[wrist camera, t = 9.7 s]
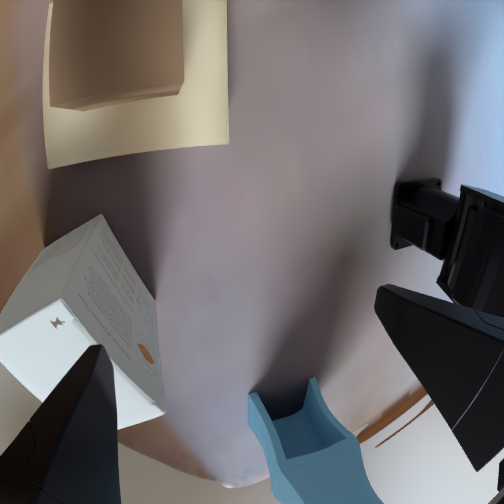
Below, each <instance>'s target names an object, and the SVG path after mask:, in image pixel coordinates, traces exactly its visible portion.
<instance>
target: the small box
mask: <svg viewBox="0 0 504 504" xmlns="http://www.w3.org/2000/svg"><path fill="white" fill-rule="evenodd" d="M96 344H102V345H103V346H104V347H105V349H106V351H107V353H108V356H109V358H110V360H111V362H112V365H113V368H114V381H115V393H116V404H117V430H118V429H121V428H125V427H128V426H131V425H134V424H138V423H141V422H144V421H147V420H150V419H153V418H156V417H158V416H161V415H164V414H165V413H166V404H165V396H164V388H163V380H162V372H161V362H160V352H159V341H158V329H157V314H156V301H155V300H154V298H153V297H152V295H151V294H150V293H149V291H148V289H147V288H146V286H145V285H144V283H143V282H142V280H141V279H140V277H139V276H138V274H137V272H136V271H135V269H134V268H133V266H132V264H131V263H130V261H129V259H128V258H127V256H126V255H125V253H124V251H123V249H122V248H121V246H120V244H119V243H118V241H117V239H116V238H115V236H114V234H113V233H112V231H111V229H110V227H109V225H108V224H107V222H106V220H105V218H104V216H103V215H102V214H100V215H98V216H96V217H95V218H93V219H91V220H89V221H88V222H86V223H84V224H83V225H81V226H79V227H78V228H76V229H74V230H73V231H71V232H69V233H68V234H66V235H64V236H63V237H61V238H60V239H58V240H56V241H55V242H53V243H52V244H50V245H49V246H47V247H46V248H44V249H43V250H42V251H41V253H40V254H39V255H38V257H37V258H36V259H35V261H34V262H33V264H32V265H31V266H30V268H29V269H28V271H27V272H26V274H25V275H24V277H23V278H22V280H21V281H20V283H19V284H18V286H17V287H16V289H15V290H14V292H13V294H12V295H11V297H10V298H9V300H8V302H7V303H6V305H5V307H4V308H3V310H2V311H1V313H0V362H1V363H2V364H3V365H4V366H5V367H6V368H7V369H8V370H9V371H10V372H11V373H12V374H13V375H14V376H15V377H16V378H17V379H18V380H19V381H20V382H21V383H22V384H23V385H24V386H25V387H26V388H27V389H28V390H30V392H31V393H33V394H34V395H35V396H36V397H37V398H38V399H39V400H41V401H42V402H43V401H44V400H45V399H46V398H47V396H48V395H49V394H50V393H51V391H52V390H53V389H54V388H55V386H56V385H57V384H58V383H59V382H60V380H61V379H62V378H63V377H64V375H65V374H66V373H67V372H68V371H69V369H70V368H71V367H72V366H73V365H74V363H75V362H76V361H77V360H78V359H79V357H80V356H81V355H82V354H83V353H84V352H85V350H86V349H87V348H88V347H89V346H90V345H96Z"/></svg>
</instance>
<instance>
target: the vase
mask: <svg viewBox="0 0 504 504" xmlns="http://www.w3.org/2000/svg"><path fill="white" fill-rule="evenodd" d="M248 424H249V427H250V428H251V430H252V431H253V433H254V434H255V436H256V438H257V439H258V441H259V443H260V445H261V447H262V449H263V451H264V453H265V457H266V460H267V464H268V468H269V473H270V480H271V488H272V491H273V494H274V496H275V497H276V498H277V499H278V500H279V501H280V502H281V503H282V504H384V503H383V502H382V501H381V500H380V499H379V498H378V496H377V495H376V493H375V492H374V490H373V489H372V487H371V485H370V482H369V480H368V478H367V476H366V472H365V468H364V465H363V460H362V455H361V449H360V444H359V442H358V440H357V439H356V437H355V436H354V435H353V434H352V433H351V432H349V431H348V430H347V429H346V428H345V427H344V426H343V425H342V424H341V423H340V422H339V421H338V420H337V419H336V418H335V417H334V416H333V414H332V413H331V412H330V410H329V409H328V407H327V405H326V404H325V402H324V399H323V397H322V395H321V392H320V389H319V386H318V382H317V379H316V377H313V378H310V379H309V384H308V388H307V393H306V397H305V402H304V406H303V408H302V409H301V410H300V411H298V412H297V413H296V414H294V415H291V416H288V417H285V418H281V419H277V420H274V421H271V419H270V417H269V415H268V413H267V411H266V409H265V407H264V405H263V403H262V401H261V400H260V398H259V396H258V394H257V392H254V393H249V394H248Z"/></svg>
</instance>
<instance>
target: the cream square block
mask: <svg viewBox="0 0 504 504" xmlns="http://www.w3.org/2000/svg"><path fill="white" fill-rule="evenodd" d="M52 8H53V3H50V5H49V11H48V18H47V26H46V34H45V45H44V60H43V122H44V137H45V148H46V158H47V166H48V170H49V169H53V168H58V167H62V166H67V165H71V164H76V163H81V162H86V161H91V160H97V159H102V158H108V157H114V156H120V155H127V154H134V153H141V152H148V151H156V150H164V149H173V148H183V147H194V146H206V145H220V144H229V117H228V72H227V0H182V17H183V57H184V83H183V85H182V87H181V89H180V92H179V94H178V95H173V96H165V97H157V98H150V99H144V100H138V101H132V102H126V103H121V104H115V105H110V106H106V107H101V108H96V109H92V110H88V111H77V110H71V109H63V108H56V107H50V99H49V44H50V29H51V17H52Z"/></svg>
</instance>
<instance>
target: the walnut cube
mask: <svg viewBox="0 0 504 504" xmlns="http://www.w3.org/2000/svg"><path fill="white" fill-rule="evenodd" d="M183 83H184V57H183V17H182V0H53V8H52V17H51V29H50V44H49V99H50V107H56V108H63V109H71V110H77V111H88V110H92V109H96V108H101V107H106V106H110V105H115V104H121V103H126V102H132V101H138V100H144V99H150V98H157V97H165V96H173V95H178V94H179V92H180V89H181V87H182V85H183Z"/></svg>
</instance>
